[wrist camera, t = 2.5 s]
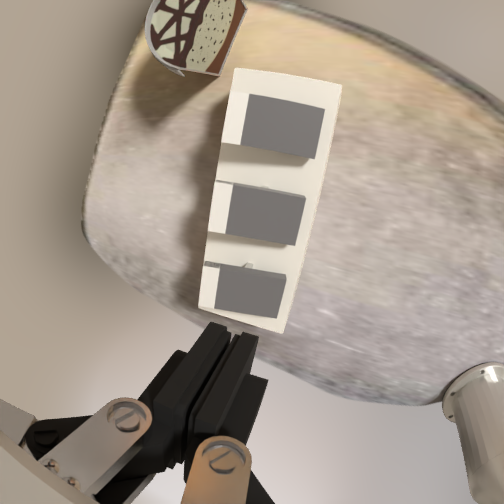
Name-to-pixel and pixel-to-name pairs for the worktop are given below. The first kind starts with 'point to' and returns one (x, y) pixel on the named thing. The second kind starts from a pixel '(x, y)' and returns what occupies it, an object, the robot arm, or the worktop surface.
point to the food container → (193, 33)
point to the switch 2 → (256, 212)
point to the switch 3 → (241, 289)
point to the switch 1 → (272, 124)
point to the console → (275, 186)
